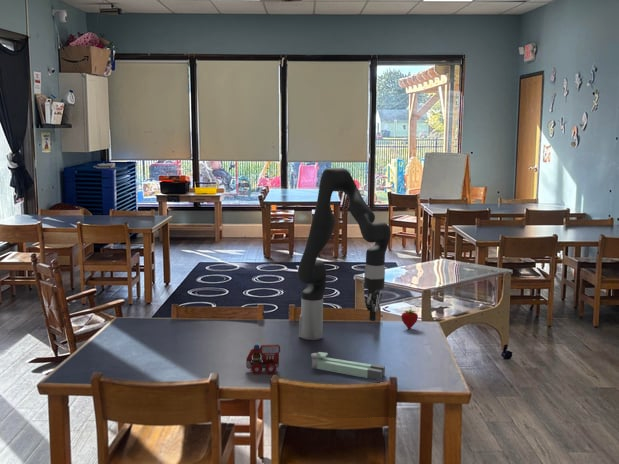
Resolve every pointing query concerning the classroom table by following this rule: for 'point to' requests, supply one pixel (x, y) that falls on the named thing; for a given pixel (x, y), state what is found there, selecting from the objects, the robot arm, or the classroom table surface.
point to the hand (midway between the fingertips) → (372, 320)
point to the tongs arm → (348, 362)
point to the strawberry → (409, 318)
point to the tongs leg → (347, 369)
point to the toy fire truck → (263, 359)
